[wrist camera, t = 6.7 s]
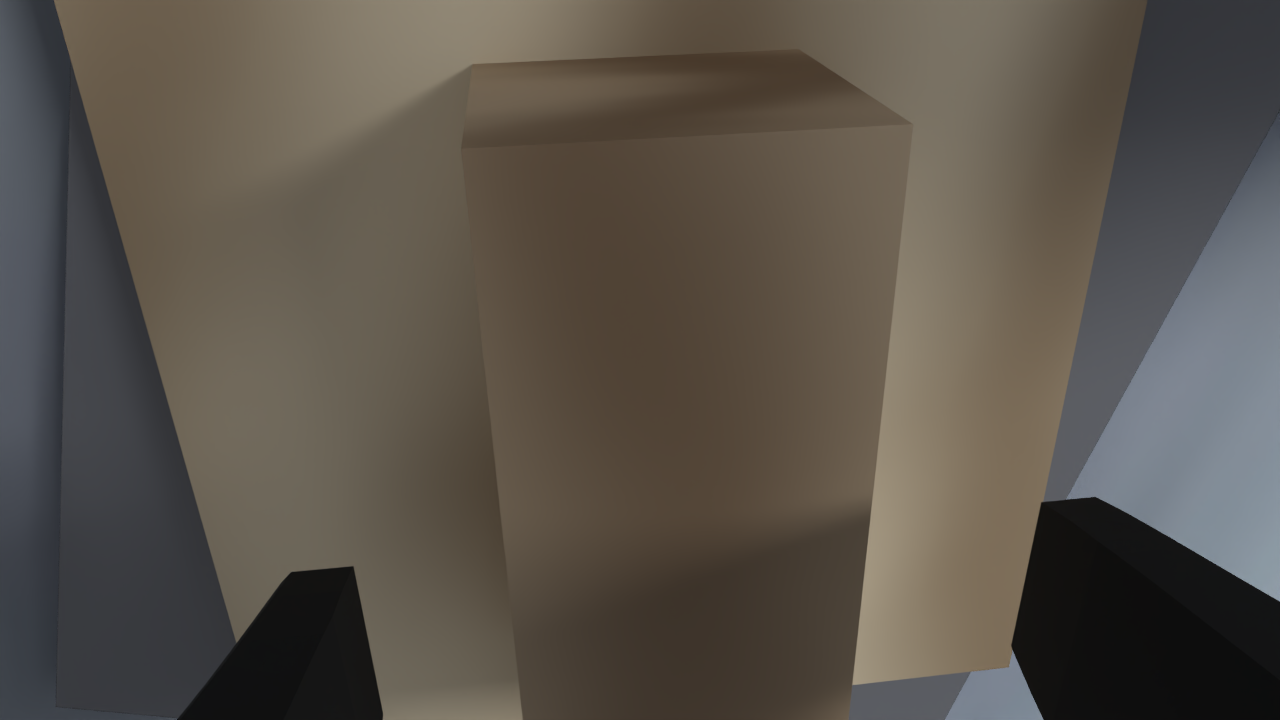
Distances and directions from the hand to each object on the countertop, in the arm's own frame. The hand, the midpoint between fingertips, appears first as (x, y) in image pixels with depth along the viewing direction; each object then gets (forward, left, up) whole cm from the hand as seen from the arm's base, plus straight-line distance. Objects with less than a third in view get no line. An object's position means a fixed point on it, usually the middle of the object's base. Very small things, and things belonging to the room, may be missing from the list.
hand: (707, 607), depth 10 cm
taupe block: (0, 0, -5) cm, 5 cm away
